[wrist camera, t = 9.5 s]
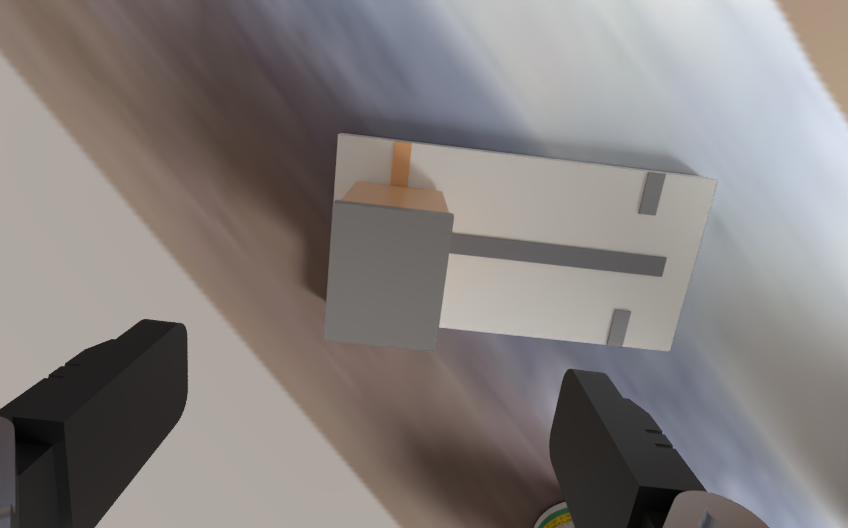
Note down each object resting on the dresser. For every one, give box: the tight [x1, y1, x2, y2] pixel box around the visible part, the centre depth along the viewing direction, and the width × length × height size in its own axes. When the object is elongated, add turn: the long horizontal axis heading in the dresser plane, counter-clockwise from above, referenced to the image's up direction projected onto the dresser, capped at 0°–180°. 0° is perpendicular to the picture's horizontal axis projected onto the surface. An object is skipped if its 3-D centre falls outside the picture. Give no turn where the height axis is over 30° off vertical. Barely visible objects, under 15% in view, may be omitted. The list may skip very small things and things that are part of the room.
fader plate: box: [334, 133, 718, 352], centre depth 26 cm, size 18×9×2 cm, turn 83°
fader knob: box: [324, 181, 454, 352], centre depth 21 cm, size 4×5×6 cm
